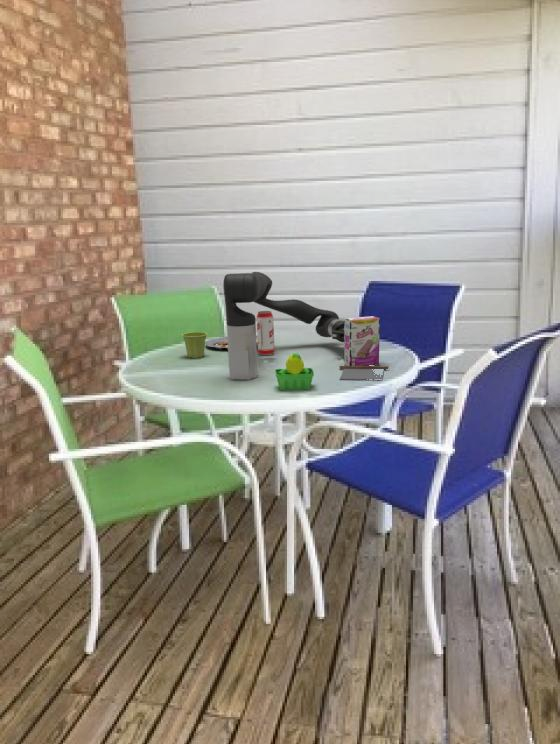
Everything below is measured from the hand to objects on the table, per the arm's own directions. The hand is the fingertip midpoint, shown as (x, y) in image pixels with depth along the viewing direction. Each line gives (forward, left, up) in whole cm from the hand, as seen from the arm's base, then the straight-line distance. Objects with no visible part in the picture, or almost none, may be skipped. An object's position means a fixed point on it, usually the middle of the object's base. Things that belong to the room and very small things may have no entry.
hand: (357, 338), depth 224 cm
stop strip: (-11, -3, -9) cm, 14 cm away
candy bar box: (-5, -2, -9) cm, 10 cm away
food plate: (+30, +51, -9) cm, 60 cm away
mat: (-18, -3, -8) cm, 20 cm away
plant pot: (+8, +61, -9) cm, 62 cm away
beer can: (+13, +35, -9) cm, 38 cm away
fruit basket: (-35, +16, -9) cm, 40 cm away
